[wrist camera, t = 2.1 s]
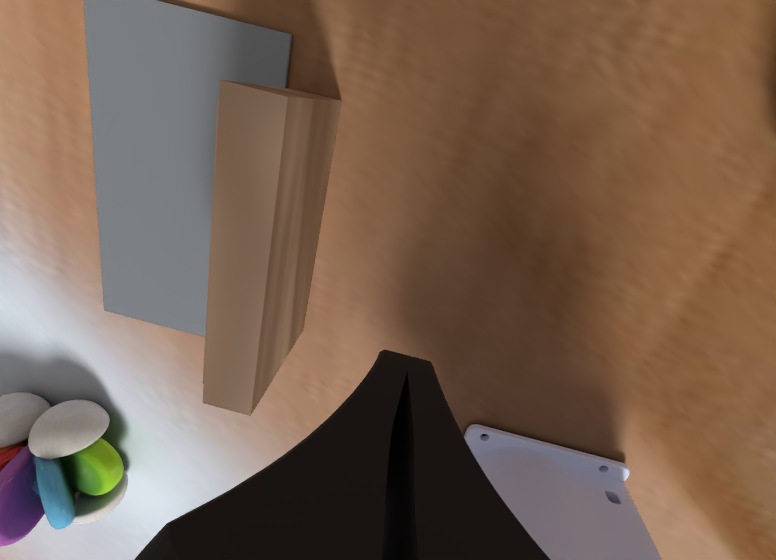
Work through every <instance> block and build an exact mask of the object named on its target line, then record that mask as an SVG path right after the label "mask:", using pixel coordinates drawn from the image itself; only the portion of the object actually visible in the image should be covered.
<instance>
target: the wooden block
mask: <svg viewBox="0 0 776 560" xmlns="http://www.w3.org/2000/svg"><path fill="white" fill-rule="evenodd" d="M341 102H342V101H341V100H337V99H333V98H329V97H325V96H321V95H318V94H314V93H310V92H306V91H302V90H298V89H290V88H282V87H274V86H266V85H258V84H250V83H242V82H234V81H226V80H220V91H219V100H218V106H217V125H216V144H215V163H214V182H213V201H212V220H211V239H210V258H209V278H208V297H207V316H206V335H205V354H204V373H203V384H204V389H203V403H205V404H209V405H212V406H216V407H220V408H224V409H227V410H231V411H235V412H238V413H242V414H246V415H250V416H251V414H252V412H253V411H254V409H255V408H256V406H257V404H258V403H259V401H260V399H261V398H262V396H263V395H264V393H265V391H266V390H267V388H268V386H269V385H270V383H271V382H272V380H273V378H274V377H275V375H276V373H277V372H278V370H279V368H280V367H281V365H282V364H283V362H284V360H285V359H286V357H287V355H288V354H289V352H290V351H291V349H292V347H293V346H294V344H295V342H296V341H297V339H298V338H299V336H300V334H301V333H302V331H303V328H304V322H305V316H306V310H307V304H308V298H309V292H310V286H311V280H312V275H313V269H314V263H315V257H316V251H317V245H318V239H319V233H320V227H321V221H322V215H323V209H324V203H325V197H326V191H327V185H328V179H329V173H330V168H331V162H332V156H333V150H334V144H335V138H336V132H337V126H338V120H339V114H340V108H341Z"/></svg>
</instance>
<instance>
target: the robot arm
mask: <svg viewBox="0 0 776 560" xmlns="http://www.w3.org/2000/svg"><path fill="white" fill-rule="evenodd" d="M482 434H487V435H486V436H482ZM601 466H603V467H601ZM629 474H630V471H629V469H628V467H627V465H626V464H624V463H622V462H618V461H614V460H611V459H607V458H603V457H599V456H596V455H592V454H588V453H584V452H580V451H577V450H573V449H569V448H565V447H562V446H558V445H554V444H550V443H546V442H543V441H539V440H535V439H531V438H528V437H524V436H520V435H516V434H512V433H509V432H505V431H501V430H497V429H494V428H490V427H486V426H482V425H478V424H473V425H470V426H469V427H468V428H467V431H466V433H465V435H464V437H463V435H462V433H461V431H460V429H459V427H458V425H457V423H456V421H455V418H454V416H453V414H452V412H451V410H450V408H449V406H448V403H447V401H446V399H445V396H444V394H443V391H442V389H441V386H440V384H439V381H438V379H437V376H436V373H435V370H434V367H433V365H432V363H431V362H430V361H426V360H423V359H419V358H415V357H411V356H407V355H404V354H400V353H396V352H392V351H388V350H383V351H381V352H379V355H378V358H377V360H376V362H375V363H374V365H373V367H372V368H371V370H370V371H369V373H368V374H367V375H366V377H365V378H364V379H363V381H362V382H361V383H360V384H359V386H358V387H357V388H356V389H355V391H354V392H353V393H352V394H351V395H350V396H349V397H348V398H347V400H346V401H345V402H344V403H343V404H342V405H341V406H340V407H339V408H338V409H337V410H336V411H335V412H334V413H333V414H332V415H331V416H330V417H329V418H328V419H327V420H326V421H325V422H324V423H323V424H321V425H320V426H319V427H318V428H317V429H316V430H315V431H313V432H312V433H311V434H310V435H309V436H308V437H306V438H305V439H304V440H303V441H301V442H300V443H299V444H297V445H296V446H295V447H294V448H292V449H291V450H290V451H288V452H287V453H286V454H284V455H283V456H282V457H280V458H279V459H278V460H276V461H275V462H273V463H272V464H270V465H269V466H267V467H266V468H264V469H263V470H261V471H259V472H258V473H256V474H255V475H253V476H252V477H250V478H248V479H247V480H245V481H244V482H242V483H240V484H239V485H237V486H236V487H234V488H232V489H231V490H229V491H227V492H226V493H224V494H222V495H220V496H218V497H216V498H215V499H213V500H211V501H209V502H207V503H205V504H203V505H201V506H199V507H197V508H196V509H194V510H192V511H190V512H188V513H186V514H184V515H182V516H180V517H179V518H177V519H175V520H173V521H171V522H169V523H167V524H166V525H165V526H164V527H163V528H162V529H161V530H160V531H159V532H158V534H157V535H156V536H155V537H154V538H153V539H152V540H151V541H150V542H149V543H148V545H147V546H146V547H145V548H144V549H143V550H142V551H141V553H140V554H139V555H138V556H137V557H136V558H135V560H662V559H661V557H660V555H659V553H658V551H657V549H656V547H655V545H654V543H653V540H652V538H651V536H650V534H649V532H648V530H647V528H646V526H645V524H644V522H643V520H642V518H641V516H640V514H639V512H638V510H637V508H636V506H635V504H634V502H633V500H632V498H631V496H630V494H629V492H628V490H627V488H626V486H625V484H624V482H625V480H626V479H627V477H628V476H629Z"/></svg>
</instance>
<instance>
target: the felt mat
mask: <svg viewBox="0 0 776 560" xmlns="http://www.w3.org/2000/svg"><path fill="white" fill-rule="evenodd" d="M84 14H85V29H86V44H87V59H88V74H89V89H90V105H91V120H92V135H93V150H94V165H95V180H96V195H97V211H98V226H99V241H100V256H101V271H102V286H103V301H104V311H108V312H112V313H115V314H119V315H123V316H127V317H131V318H134V319H138V320H142V321H146V322H149V323H153V324H157V325H161V326H165V327H168V328H172V329H176V330H180V331H184V332H187V333H191V334H195V335H199V336H203V337H205V335H206V316H207V297H208V278H209V258H210V239H211V220H212V201H213V182H214V163H215V144H216V125H217V106H218V100H219V91H220V80H226V81H234V82H242V83H250V84H258V85H266V86H274V87H282V88H286V85H287V77H288V68H289V59H290V51H291V42H292V35H291V34H288V33H284V32H280V31H276V30H272V29H268V28H264V27H260V26H256V25H252V24H248V23H244V22H240V21H236V20H232V19H228V18H224V17H220V16H216V15H213V14H209V13H205V12H201V11H197V10H193V9H189V8H185V7H181V6H177V5H173V4H169V3H165V2H161V1H157V0H84Z"/></svg>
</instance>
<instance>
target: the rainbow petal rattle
mask: <svg viewBox="0 0 776 560" xmlns="http://www.w3.org/2000/svg"><path fill="white" fill-rule="evenodd" d="M109 421H110V419H109V415H108V414H107V412H106V411H105V410H104V409H103V408H102V407H101V406H100V405H98V404H96V403H94V402H92V401H88V400H70V401H65V402H62V403H59V404H57V405H55V406H53V407H51V406H50V404H49V403H48V402H47V401H46V400H45V399H43V398H41V397H40V396H37V395H35V394H32V393H25V392H17V393H9V394H5V395H2V396H0V546H6V545H10V544H13V543H15V542H17V541H19V540H21V539H22V538H24V537H25V536H26V535H27V534H28V533H29V532H30V531H31V530H32V529H33V528H34V527H35V526H36V524H37V523H38V522H39V520H40V519H41V518H42V516H43V515H44V514H46V516H47V519H48V521H49V523H50V525H51V526H52V527H53V528H55V529H63V528H65V527H67V526H69V525H70V524H71V523H75V524H84V523H90V522H93V521H96V520H99V519H101V518H103V517H104V516H106V515H107V514H109V513H110V512H111V511H113V510H114V509H115V508H116V507H117V506H118V504H119V503H120V502H121V500H122V498H123V497H124V495H125V492H126V489H127V485H128V475H127V473H126V471H125V470H124V465H123V462H122V460H121V458H120V456H119V454H118V453H117V451H116V450H115V449H114V448H113V447H112V446H111V445H110V444H109V443H108V442H106V441H105V440H104V439H102V438H100V437H101V436H102V435H103V433H104V432H105V431H106V429H107V428H108V426H109Z"/></svg>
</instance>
